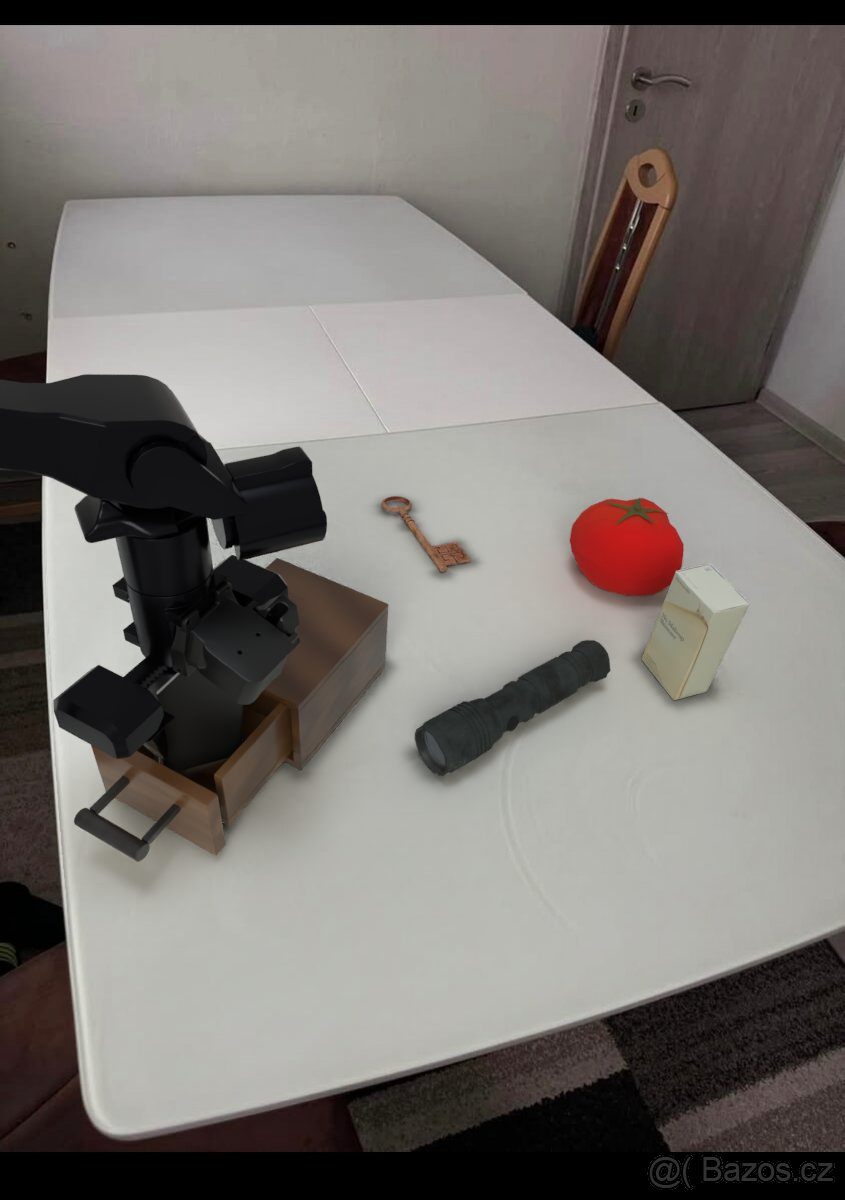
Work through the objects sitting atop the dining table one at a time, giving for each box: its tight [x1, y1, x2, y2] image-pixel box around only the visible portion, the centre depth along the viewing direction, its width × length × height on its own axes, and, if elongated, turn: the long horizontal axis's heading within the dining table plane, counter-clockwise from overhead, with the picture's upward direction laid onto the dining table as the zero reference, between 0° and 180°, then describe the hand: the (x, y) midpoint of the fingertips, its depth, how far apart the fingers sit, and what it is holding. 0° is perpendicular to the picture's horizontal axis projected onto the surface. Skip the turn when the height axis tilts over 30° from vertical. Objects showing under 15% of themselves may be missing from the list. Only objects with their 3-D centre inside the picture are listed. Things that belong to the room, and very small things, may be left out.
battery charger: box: [157, 668, 243, 772], centre depth 63 cm, size 7×4×11 cm, turn 115°
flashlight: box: [414, 639, 611, 777], centre depth 75 cm, size 5×21×5 cm, turn 127°
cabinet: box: [261, 557, 389, 771], centre depth 75 cm, size 15×13×9 cm
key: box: [380, 495, 472, 573], centre depth 98 cm, size 6×1×15 cm
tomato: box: [569, 497, 685, 597], centre depth 91 cm, size 11×13×10 cm
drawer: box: [73, 694, 293, 863], centre depth 66 cm, size 18×11×7 cm, turn 152°
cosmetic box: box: [641, 562, 751, 701], centre depth 79 cm, size 6×4×12 cm
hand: (195, 721), depth 64 cm, fingers closed on battery charger, 7 cm apart
